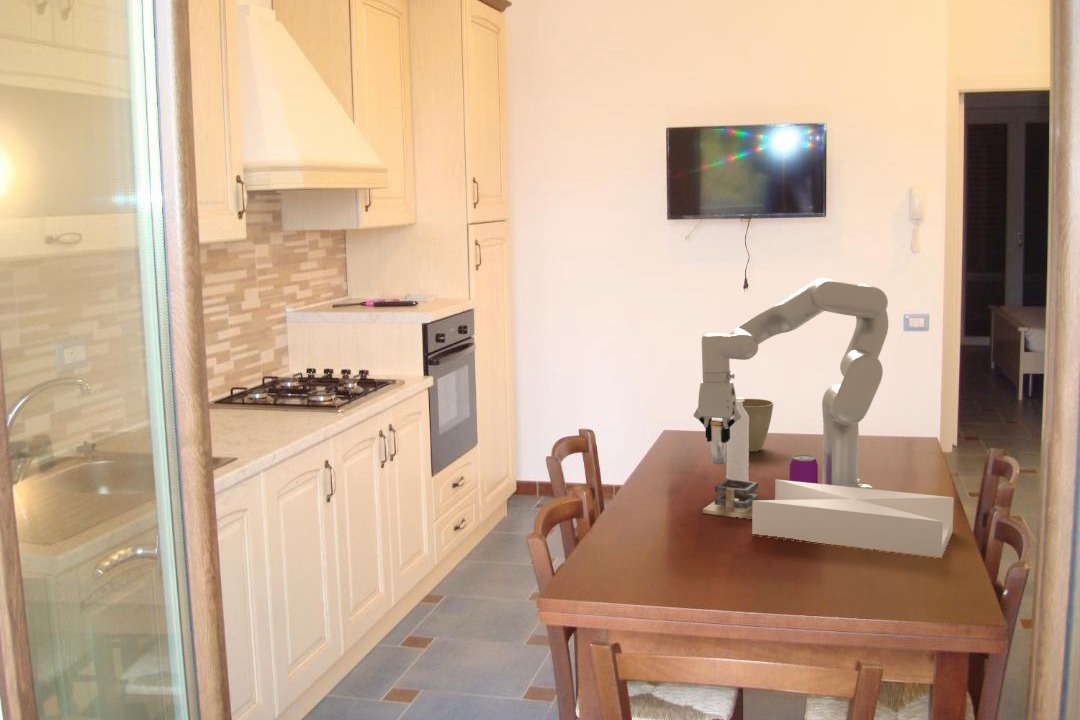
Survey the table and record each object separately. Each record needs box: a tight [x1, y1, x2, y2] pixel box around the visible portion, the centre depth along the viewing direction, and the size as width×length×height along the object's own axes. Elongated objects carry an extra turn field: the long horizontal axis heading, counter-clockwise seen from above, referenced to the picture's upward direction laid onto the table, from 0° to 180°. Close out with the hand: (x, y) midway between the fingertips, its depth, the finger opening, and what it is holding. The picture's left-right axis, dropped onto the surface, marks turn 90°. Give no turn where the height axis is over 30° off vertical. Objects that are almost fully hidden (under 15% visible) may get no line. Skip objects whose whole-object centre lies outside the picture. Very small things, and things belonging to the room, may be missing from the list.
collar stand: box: [702, 478, 759, 520], centre depth 294 cm, size 14×14×7 cm
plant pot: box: [742, 398, 774, 453], centre depth 361 cm, size 15×15×16 cm
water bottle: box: [725, 396, 750, 486], centre depth 319 cm, size 9×6×25 cm
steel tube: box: [710, 419, 727, 465], centre depth 306 cm, size 4×4×12 cm
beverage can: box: [788, 454, 819, 484], centre depth 303 cm, size 8×8×12 cm
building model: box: [751, 479, 955, 558], centre depth 272 cm, size 45×22×10 cm, turn 63°
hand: (717, 440), depth 306 cm, fingers closed on steel tube, 4 cm apart
